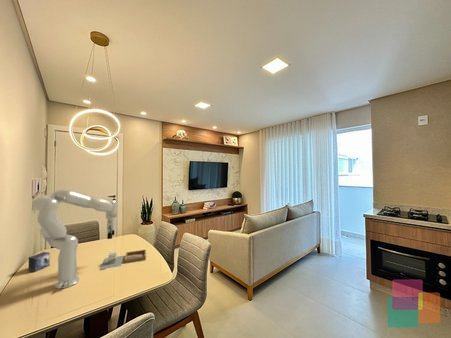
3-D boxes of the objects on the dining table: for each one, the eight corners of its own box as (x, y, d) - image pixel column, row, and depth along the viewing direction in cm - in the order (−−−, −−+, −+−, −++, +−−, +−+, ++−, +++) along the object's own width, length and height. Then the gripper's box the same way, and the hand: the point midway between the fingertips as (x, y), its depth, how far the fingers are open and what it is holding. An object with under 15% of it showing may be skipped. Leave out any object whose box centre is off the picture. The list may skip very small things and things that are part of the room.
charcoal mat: (120, 266, 152) (120, 266, 152) (99, 270, 147) (99, 269, 147) (123, 256, 170) (123, 255, 171) (105, 259, 165) (105, 258, 165)
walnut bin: (145, 260, 162) (145, 256, 162) (124, 263, 156) (124, 260, 156) (146, 252, 177) (145, 249, 177) (126, 255, 171) (126, 252, 171)
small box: (34, 272, 144) (34, 258, 144) (27, 271, 146) (27, 257, 146) (50, 265, 155) (50, 252, 155) (43, 264, 156) (43, 251, 156)
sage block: (115, 262, 157) (115, 254, 157) (108, 264, 155) (108, 255, 155) (116, 260, 162) (116, 251, 162) (109, 261, 160) (109, 252, 160)
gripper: (114, 217, 152) (114, 239, 152) (118, 213, 169) (117, 233, 168) (103, 218, 150) (103, 240, 149) (108, 214, 166) (107, 234, 166)
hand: (110, 236), depth 159 cm, fingers open, 9 cm apart
